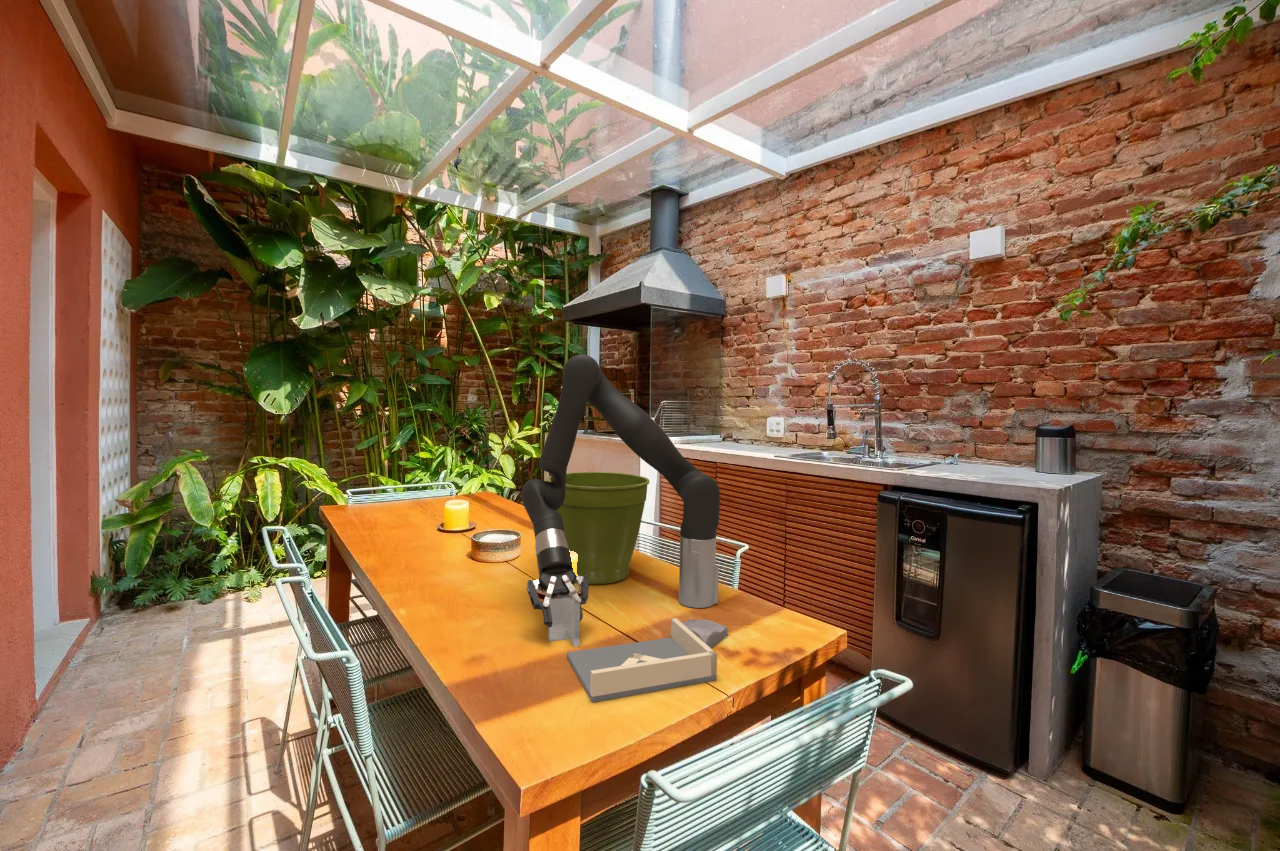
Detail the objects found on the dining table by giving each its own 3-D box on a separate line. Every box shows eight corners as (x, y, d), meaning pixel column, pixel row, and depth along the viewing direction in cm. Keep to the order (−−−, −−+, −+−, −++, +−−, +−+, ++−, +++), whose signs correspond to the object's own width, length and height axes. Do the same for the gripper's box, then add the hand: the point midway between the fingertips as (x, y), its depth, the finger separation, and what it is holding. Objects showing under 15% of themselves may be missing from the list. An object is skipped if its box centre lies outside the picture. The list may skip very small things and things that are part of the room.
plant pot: (524, 575, 165) (525, 477, 164) (596, 555, 188) (598, 469, 187) (597, 600, 146) (598, 489, 145) (668, 575, 169) (670, 479, 167)
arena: (676, 641, 122) (676, 618, 122) (716, 680, 106) (717, 653, 105) (566, 657, 114) (567, 632, 114) (592, 702, 97) (592, 673, 97)
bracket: (572, 635, 124) (573, 595, 124) (579, 646, 119) (580, 603, 119) (548, 639, 122) (548, 597, 122) (553, 649, 117) (553, 606, 117)
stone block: (665, 649, 121) (708, 653, 116) (664, 626, 122) (706, 629, 117) (690, 639, 131) (731, 642, 126) (689, 617, 132) (729, 619, 127)
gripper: (523, 547, 125) (532, 620, 115) (586, 542, 130) (601, 612, 120) (519, 564, 130) (528, 636, 120) (580, 559, 136) (593, 627, 125)
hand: (564, 623), depth 120 cm, fingers closed on bracket, 5 cm apart
